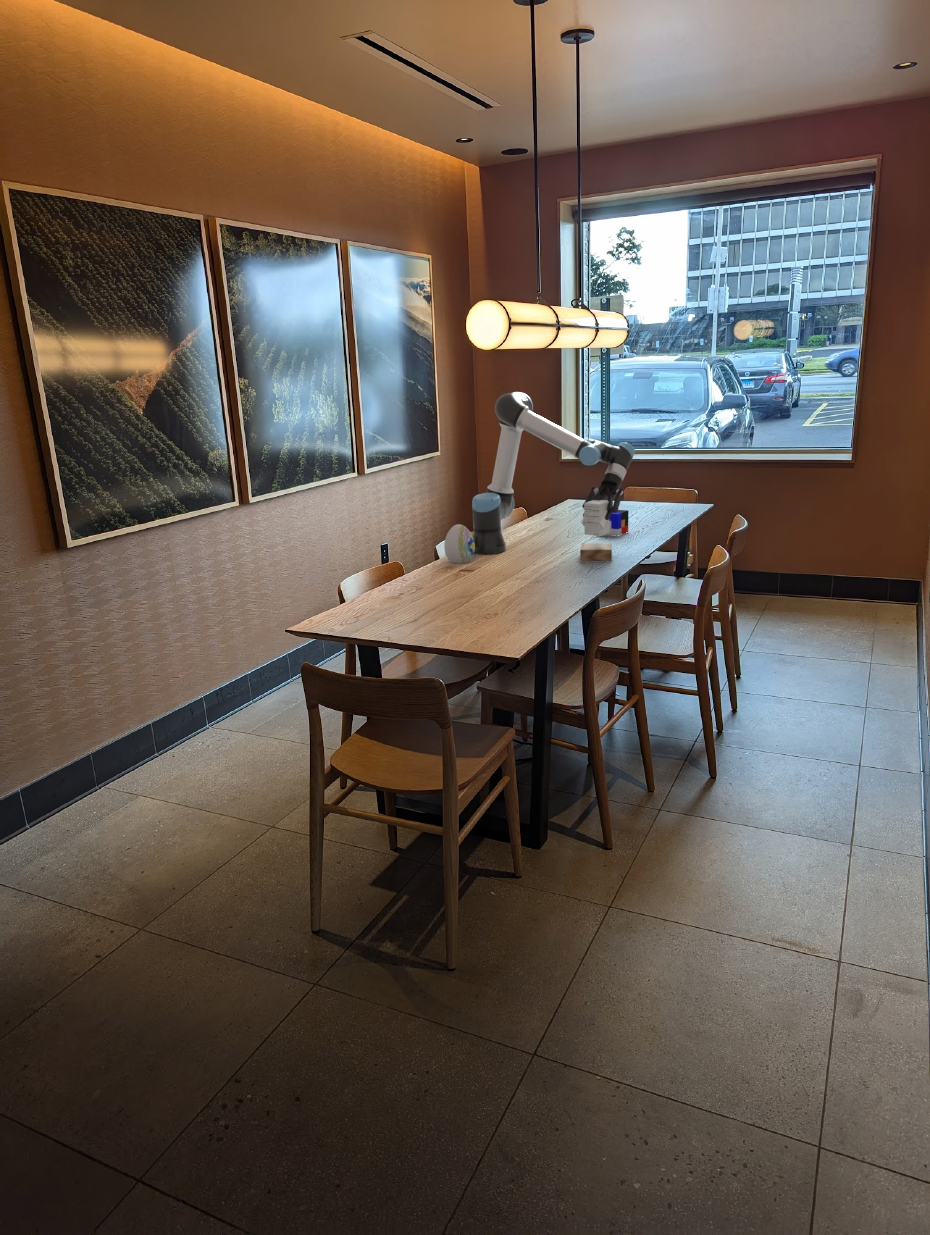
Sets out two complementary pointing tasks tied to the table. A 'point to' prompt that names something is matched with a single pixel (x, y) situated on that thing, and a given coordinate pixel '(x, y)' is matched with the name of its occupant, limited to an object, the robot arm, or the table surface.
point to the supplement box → (595, 517)
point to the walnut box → (596, 552)
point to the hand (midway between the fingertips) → (592, 525)
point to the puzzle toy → (618, 523)
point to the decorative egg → (459, 545)
